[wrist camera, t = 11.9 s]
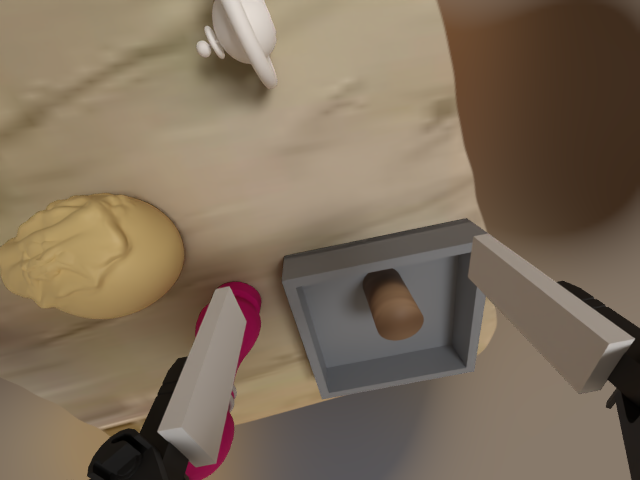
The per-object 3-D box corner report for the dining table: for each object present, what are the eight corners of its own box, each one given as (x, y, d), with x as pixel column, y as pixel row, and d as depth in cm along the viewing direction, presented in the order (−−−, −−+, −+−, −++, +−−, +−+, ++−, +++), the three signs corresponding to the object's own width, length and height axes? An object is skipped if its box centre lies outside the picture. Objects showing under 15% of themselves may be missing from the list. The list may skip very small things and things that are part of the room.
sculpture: (144, 160, 25) (49, 195, 16) (215, 254, 31) (176, 323, 21) (53, 206, 27) (-84, 263, 17) (136, 287, 32) (67, 365, 23)
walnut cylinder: (360, 271, 32) (374, 311, 26) (399, 263, 32) (423, 302, 25) (364, 300, 34) (378, 344, 28) (401, 293, 34) (423, 335, 28)
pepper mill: (218, 322, 36) (138, 535, 18) (202, 281, 32) (84, 495, 15) (269, 316, 36) (239, 522, 18) (259, 275, 32) (210, 480, 15)
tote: (284, 256, 31) (281, 281, 27) (466, 218, 30) (494, 237, 26) (320, 368, 42) (322, 399, 38) (455, 342, 41) (474, 371, 37)
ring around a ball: (296, 81, 23) (293, 71, 16) (240, 109, 23) (213, 112, 16) (249, -36, 19) (219, -117, 12) (185, 2, 20) (120, -53, 13)
